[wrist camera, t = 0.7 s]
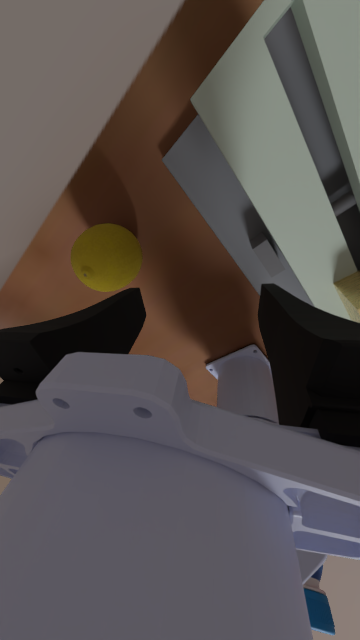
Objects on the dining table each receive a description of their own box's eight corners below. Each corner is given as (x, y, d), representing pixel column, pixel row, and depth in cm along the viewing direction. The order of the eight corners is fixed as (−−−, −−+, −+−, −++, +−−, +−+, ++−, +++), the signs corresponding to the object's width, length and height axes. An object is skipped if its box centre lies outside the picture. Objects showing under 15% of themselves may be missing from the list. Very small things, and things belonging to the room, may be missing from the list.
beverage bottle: (262, 440, 39) (288, 621, 23) (305, 451, 39) (362, 644, 23) (247, 456, 44) (260, 613, 28) (285, 466, 44) (320, 632, 28)
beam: (434, 275, 17) (459, 290, 16) (323, 322, 22) (333, 337, 20) (366, -122, 8) (413, -199, 6) (192, 105, 12) (190, 99, 10)
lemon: (115, 203, 19) (60, 217, 13) (162, 241, 20) (133, 271, 14) (94, 249, 22) (42, 278, 16) (136, 279, 23) (104, 318, 17)
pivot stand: (490, 249, 16) (548, 265, 13) (289, 333, 24) (297, 355, 21) (426, -163, 8) (528, -335, 6) (164, 160, 16) (151, 157, 14)
